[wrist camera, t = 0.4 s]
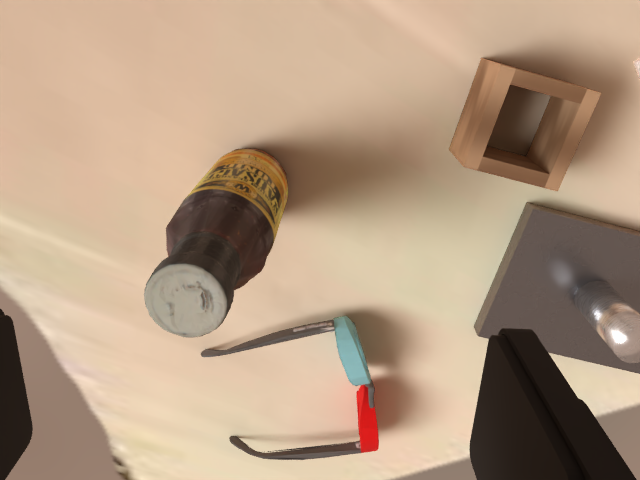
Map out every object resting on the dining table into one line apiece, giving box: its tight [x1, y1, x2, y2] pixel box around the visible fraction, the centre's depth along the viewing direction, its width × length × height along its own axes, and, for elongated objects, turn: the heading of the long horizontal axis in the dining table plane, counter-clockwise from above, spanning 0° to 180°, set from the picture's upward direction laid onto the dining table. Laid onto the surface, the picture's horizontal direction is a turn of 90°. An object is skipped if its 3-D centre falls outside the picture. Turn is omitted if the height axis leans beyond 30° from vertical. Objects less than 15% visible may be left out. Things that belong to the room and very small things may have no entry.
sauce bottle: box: [144, 149, 288, 337], centre depth 36 cm, size 7×6×20 cm
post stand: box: [474, 203, 640, 374], centre depth 44 cm, size 12×16×8 cm
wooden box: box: [449, 58, 601, 191], centre depth 40 cm, size 7×7×5 cm
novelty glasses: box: [201, 316, 379, 460], centre depth 50 cm, size 14×15×5 cm
